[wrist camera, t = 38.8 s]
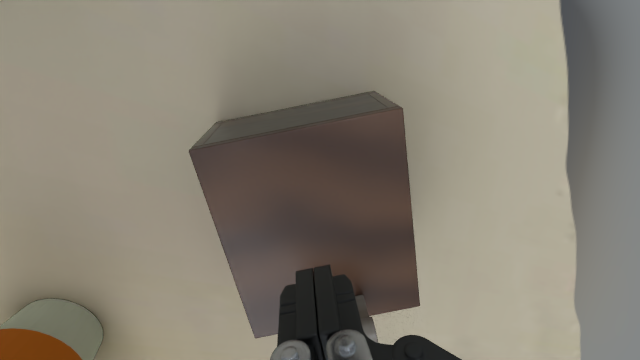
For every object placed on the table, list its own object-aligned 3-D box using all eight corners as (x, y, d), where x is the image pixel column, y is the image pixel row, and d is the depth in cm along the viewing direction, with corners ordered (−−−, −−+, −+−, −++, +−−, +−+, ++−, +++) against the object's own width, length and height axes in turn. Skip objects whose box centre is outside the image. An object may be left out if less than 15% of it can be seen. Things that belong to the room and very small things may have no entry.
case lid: (417, 300, 30) (441, 351, 25) (255, 332, 30) (248, 389, 25) (399, 105, 23) (428, 123, 18) (190, 147, 23) (163, 176, 18)
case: (392, 244, 37) (416, 293, 29) (261, 269, 37) (253, 325, 29) (374, 90, 30) (399, 105, 23) (215, 122, 30) (191, 147, 23)
